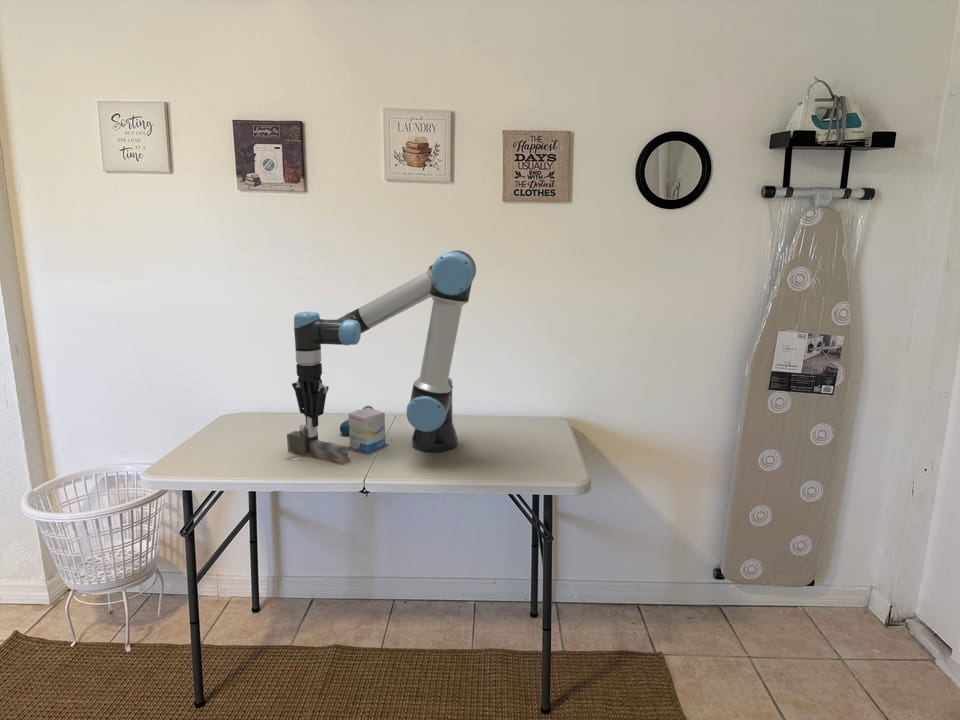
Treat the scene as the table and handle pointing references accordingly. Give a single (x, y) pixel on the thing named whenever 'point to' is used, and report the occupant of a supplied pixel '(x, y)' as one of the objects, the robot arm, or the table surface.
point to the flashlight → (345, 425)
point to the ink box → (367, 429)
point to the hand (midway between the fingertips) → (312, 435)
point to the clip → (300, 440)
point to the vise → (321, 451)
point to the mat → (364, 451)
